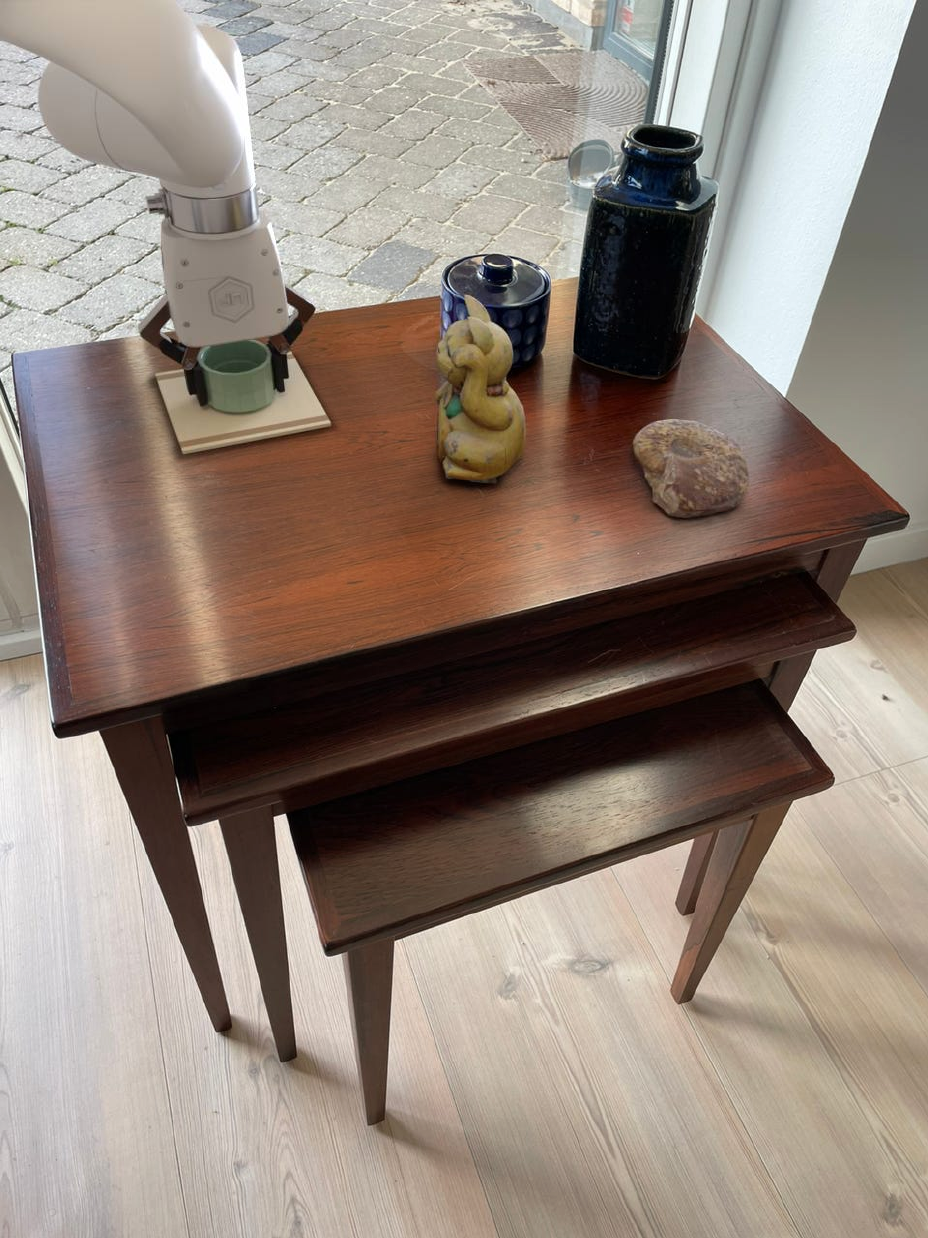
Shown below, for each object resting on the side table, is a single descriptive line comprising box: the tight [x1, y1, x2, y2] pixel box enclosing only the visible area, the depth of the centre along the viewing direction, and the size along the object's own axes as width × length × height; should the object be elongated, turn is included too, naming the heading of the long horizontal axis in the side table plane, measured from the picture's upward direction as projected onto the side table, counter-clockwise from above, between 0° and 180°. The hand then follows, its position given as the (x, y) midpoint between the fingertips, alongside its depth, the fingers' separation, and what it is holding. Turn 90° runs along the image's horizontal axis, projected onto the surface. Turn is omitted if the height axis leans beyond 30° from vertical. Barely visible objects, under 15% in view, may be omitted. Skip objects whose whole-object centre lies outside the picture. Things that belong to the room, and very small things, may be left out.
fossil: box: [632, 418, 750, 519], centre depth 81 cm, size 13×5×10 cm
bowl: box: [197, 339, 276, 413], centre depth 86 cm, size 7×7×4 cm
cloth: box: [154, 351, 332, 455], centre depth 88 cm, size 14×14×1 cm
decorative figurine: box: [434, 294, 527, 485], centre depth 77 cm, size 10×8×15 cm
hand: (239, 390), depth 87 cm, fingers closed on bowl, 6 cm apart
